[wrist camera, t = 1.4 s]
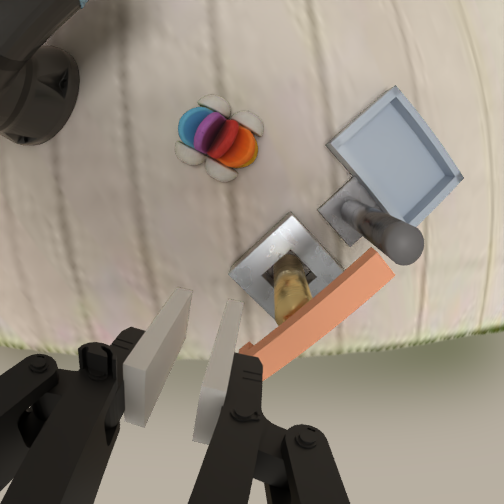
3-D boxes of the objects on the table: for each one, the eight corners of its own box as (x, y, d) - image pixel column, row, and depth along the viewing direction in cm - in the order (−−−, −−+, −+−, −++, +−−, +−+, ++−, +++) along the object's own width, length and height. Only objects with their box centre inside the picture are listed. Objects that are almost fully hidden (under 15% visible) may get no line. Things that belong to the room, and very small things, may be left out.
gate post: (317, 209, 38) (346, 238, 23) (353, 176, 37) (403, 185, 22) (348, 245, 39) (391, 292, 24) (383, 213, 37) (443, 243, 22)
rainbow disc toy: (238, 189, 38) (231, 194, 31) (169, 151, 37) (148, 149, 30) (274, 128, 36) (275, 119, 29) (204, 91, 35) (189, 76, 28)
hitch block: (231, 266, 40) (228, 274, 37) (290, 211, 38) (292, 215, 35) (285, 319, 42) (285, 330, 39) (343, 269, 40) (348, 277, 37)
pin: (267, 267, 40) (266, 314, 28) (289, 248, 39) (297, 287, 27) (286, 287, 41) (293, 339, 28) (308, 268, 40) (324, 315, 27)
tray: (325, 145, 36) (330, 143, 33) (386, 90, 33) (395, 85, 30) (396, 230, 38) (406, 236, 35) (451, 176, 35) (463, 178, 32)
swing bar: (237, 347, 27) (233, 365, 25) (395, 210, 24) (409, 216, 21) (260, 367, 28) (259, 387, 25) (415, 237, 24) (430, 246, 21)
